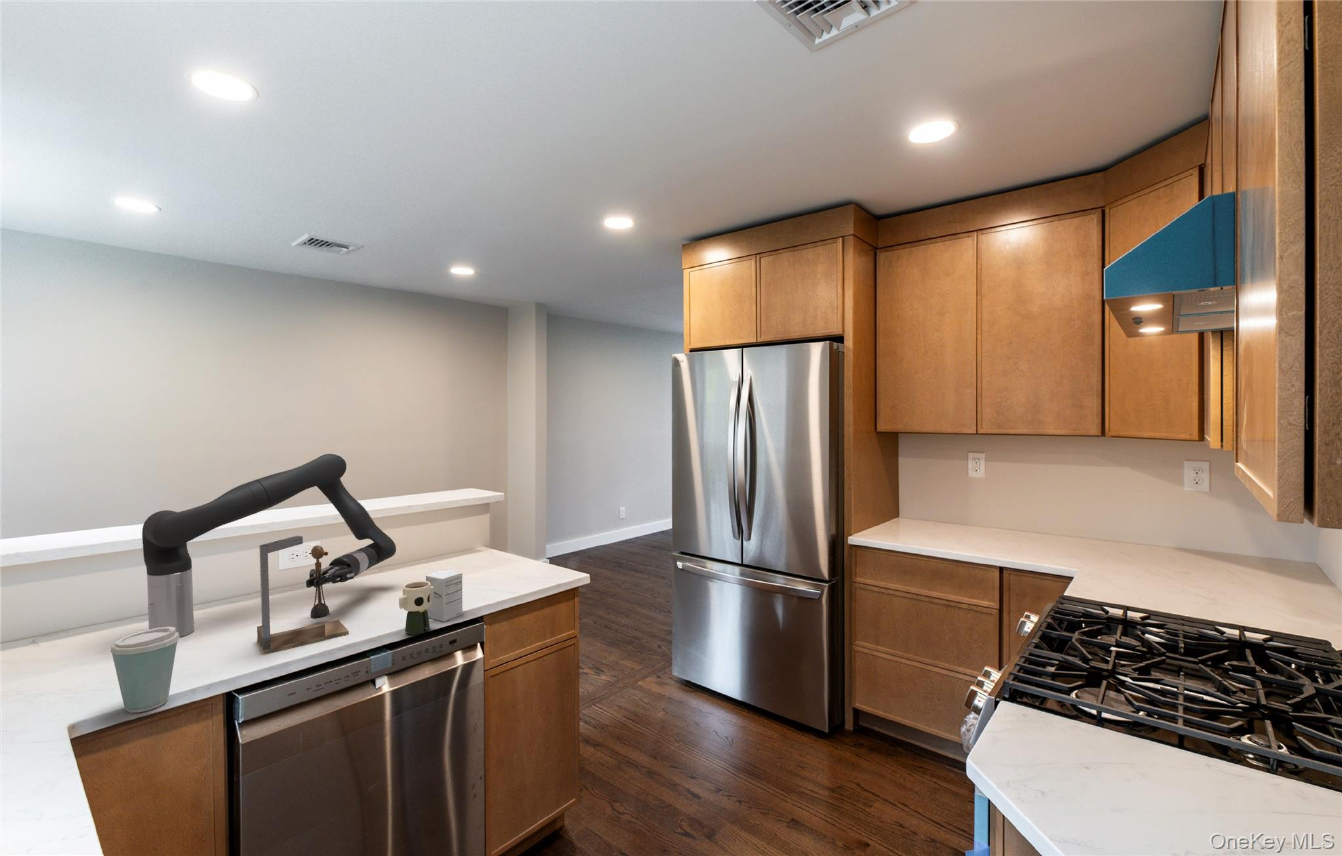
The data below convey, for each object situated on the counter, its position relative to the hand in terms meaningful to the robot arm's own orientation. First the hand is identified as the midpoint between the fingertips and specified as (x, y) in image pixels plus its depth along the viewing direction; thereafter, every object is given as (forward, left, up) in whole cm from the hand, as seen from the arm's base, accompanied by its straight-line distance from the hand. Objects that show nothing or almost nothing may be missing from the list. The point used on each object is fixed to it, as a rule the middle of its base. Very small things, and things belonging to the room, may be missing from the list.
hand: (311, 584), depth 163 cm
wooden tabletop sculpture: (+2, +2, -10) cm, 11 cm away
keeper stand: (-3, -5, -12) cm, 14 cm away
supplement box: (+31, -14, -13) cm, 36 cm away
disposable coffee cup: (-34, -24, -13) cm, 44 cm away
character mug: (+21, -21, -13) cm, 33 cm away
